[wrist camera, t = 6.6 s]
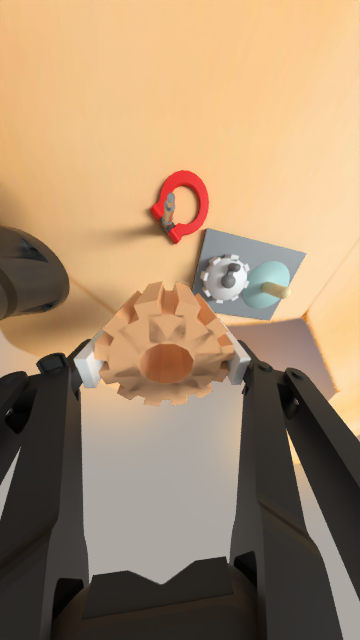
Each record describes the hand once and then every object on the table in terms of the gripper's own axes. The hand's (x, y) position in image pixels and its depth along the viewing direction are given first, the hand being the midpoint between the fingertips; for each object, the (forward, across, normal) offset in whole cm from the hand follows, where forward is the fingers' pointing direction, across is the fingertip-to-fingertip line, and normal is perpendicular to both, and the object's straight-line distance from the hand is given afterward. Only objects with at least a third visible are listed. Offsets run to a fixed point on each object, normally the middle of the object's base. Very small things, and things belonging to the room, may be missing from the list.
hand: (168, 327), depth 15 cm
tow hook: (+16, +2, +15) cm, 22 cm away
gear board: (+16, +17, +3) cm, 24 cm away
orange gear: (0, 0, 0) cm, 0 cm away
